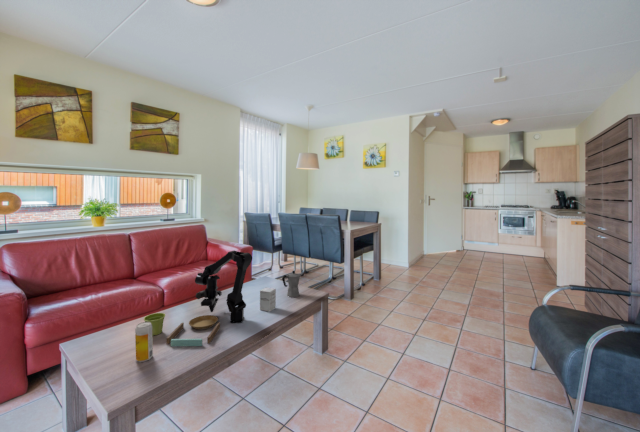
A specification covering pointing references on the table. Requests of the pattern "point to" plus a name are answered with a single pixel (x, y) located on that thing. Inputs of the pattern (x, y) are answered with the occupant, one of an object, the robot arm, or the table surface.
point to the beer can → (143, 341)
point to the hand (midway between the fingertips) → (211, 311)
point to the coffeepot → (292, 284)
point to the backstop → (186, 342)
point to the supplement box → (267, 299)
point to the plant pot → (155, 322)
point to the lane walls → (183, 327)
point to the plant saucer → (203, 322)
